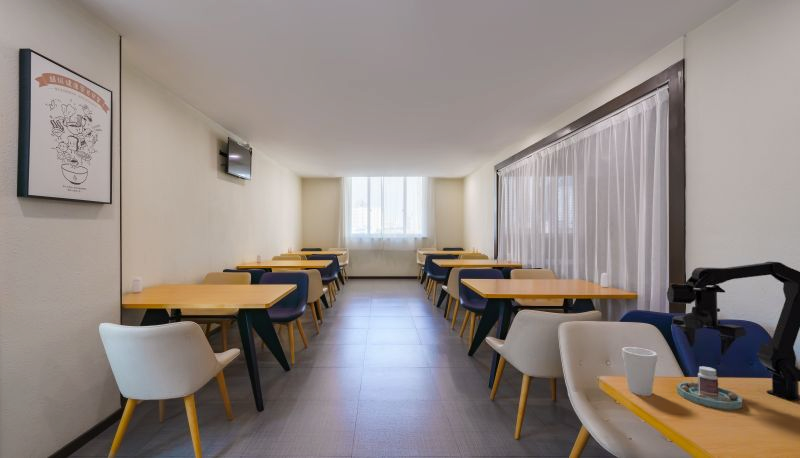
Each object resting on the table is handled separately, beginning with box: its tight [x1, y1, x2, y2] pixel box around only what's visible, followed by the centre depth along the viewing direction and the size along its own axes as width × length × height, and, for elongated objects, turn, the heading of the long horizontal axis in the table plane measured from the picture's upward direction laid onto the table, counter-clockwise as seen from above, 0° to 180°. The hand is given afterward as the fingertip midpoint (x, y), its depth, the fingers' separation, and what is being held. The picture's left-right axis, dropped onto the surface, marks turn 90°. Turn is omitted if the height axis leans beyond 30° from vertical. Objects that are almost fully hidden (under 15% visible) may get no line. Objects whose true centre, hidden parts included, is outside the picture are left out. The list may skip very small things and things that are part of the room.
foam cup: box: [621, 346, 658, 397], centre depth 113 cm, size 10×9×13 cm
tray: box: [676, 381, 743, 411], centre depth 108 cm, size 15×15×3 cm
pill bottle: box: [697, 365, 719, 399], centre depth 109 cm, size 5×5×8 cm
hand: (707, 350), depth 118 cm, fingers open, 9 cm apart
